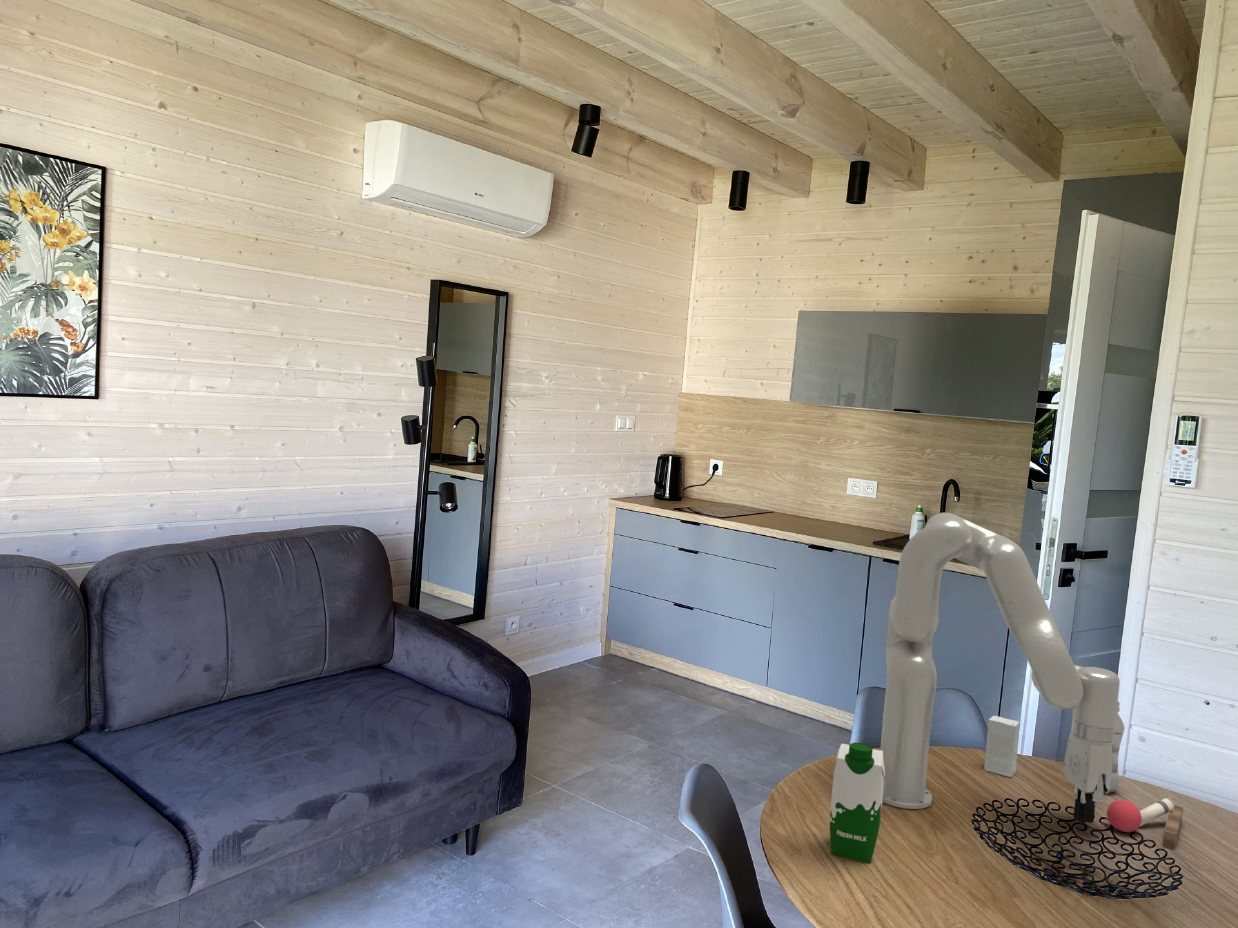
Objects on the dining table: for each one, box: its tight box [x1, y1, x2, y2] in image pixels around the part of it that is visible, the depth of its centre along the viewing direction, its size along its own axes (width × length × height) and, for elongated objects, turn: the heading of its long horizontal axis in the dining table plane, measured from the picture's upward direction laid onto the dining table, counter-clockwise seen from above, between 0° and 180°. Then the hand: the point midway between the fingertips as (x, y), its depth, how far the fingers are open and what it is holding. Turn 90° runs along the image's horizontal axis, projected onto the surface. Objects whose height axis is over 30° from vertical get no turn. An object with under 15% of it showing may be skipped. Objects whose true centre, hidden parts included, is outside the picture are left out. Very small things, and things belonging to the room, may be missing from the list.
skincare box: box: [983, 715, 1021, 778], centre depth 203 cm, size 6×4×12 cm
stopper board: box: [1162, 804, 1184, 851], centre depth 177 cm, size 16×2×3 cm, turn 143°
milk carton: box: [829, 742, 885, 864], centre depth 161 cm, size 9×9×20 cm
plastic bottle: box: [1109, 701, 1125, 793], centre depth 196 cm, size 6×7×20 cm
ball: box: [1106, 799, 1142, 833], centre depth 177 cm, size 6×6×6 cm
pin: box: [1138, 797, 1175, 828], centre depth 180 cm, size 2×2×9 cm
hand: (1083, 820), depth 177 cm, fingers closed
